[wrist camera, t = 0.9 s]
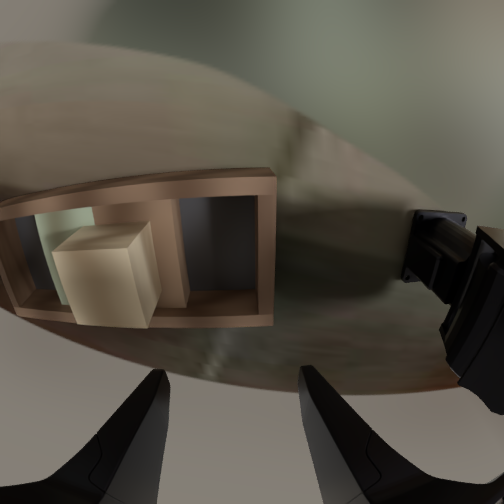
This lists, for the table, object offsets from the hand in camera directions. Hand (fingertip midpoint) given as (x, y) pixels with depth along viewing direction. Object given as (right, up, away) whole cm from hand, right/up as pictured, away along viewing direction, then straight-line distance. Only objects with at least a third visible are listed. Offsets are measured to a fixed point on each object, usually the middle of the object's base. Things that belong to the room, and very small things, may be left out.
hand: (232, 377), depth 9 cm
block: (-8, +4, +8) cm, 12 cm away
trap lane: (-10, +5, +10) cm, 15 cm away
